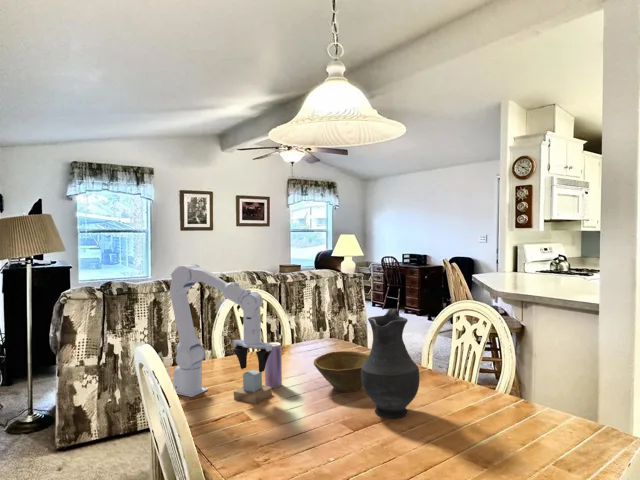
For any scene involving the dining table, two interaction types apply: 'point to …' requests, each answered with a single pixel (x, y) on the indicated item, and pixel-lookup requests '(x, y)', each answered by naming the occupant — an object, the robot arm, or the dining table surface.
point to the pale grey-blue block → (252, 381)
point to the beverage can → (274, 367)
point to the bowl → (342, 369)
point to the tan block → (253, 394)
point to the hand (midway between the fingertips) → (252, 369)
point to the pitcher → (389, 367)
